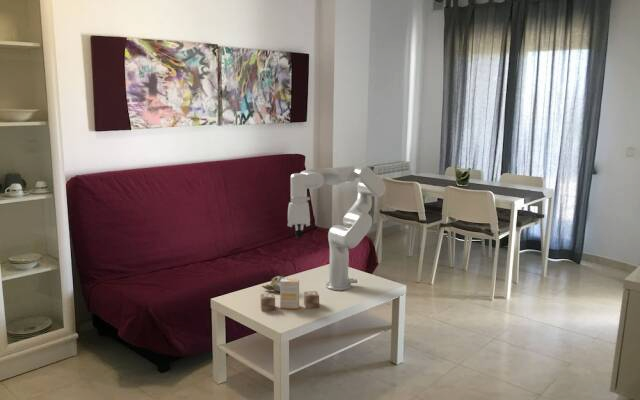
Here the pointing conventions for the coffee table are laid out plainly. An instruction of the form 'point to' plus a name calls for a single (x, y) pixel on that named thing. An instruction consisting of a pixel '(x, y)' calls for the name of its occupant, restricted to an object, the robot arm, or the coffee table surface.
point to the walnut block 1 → (267, 302)
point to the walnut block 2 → (311, 299)
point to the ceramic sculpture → (274, 284)
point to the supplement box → (289, 293)
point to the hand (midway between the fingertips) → (298, 238)
